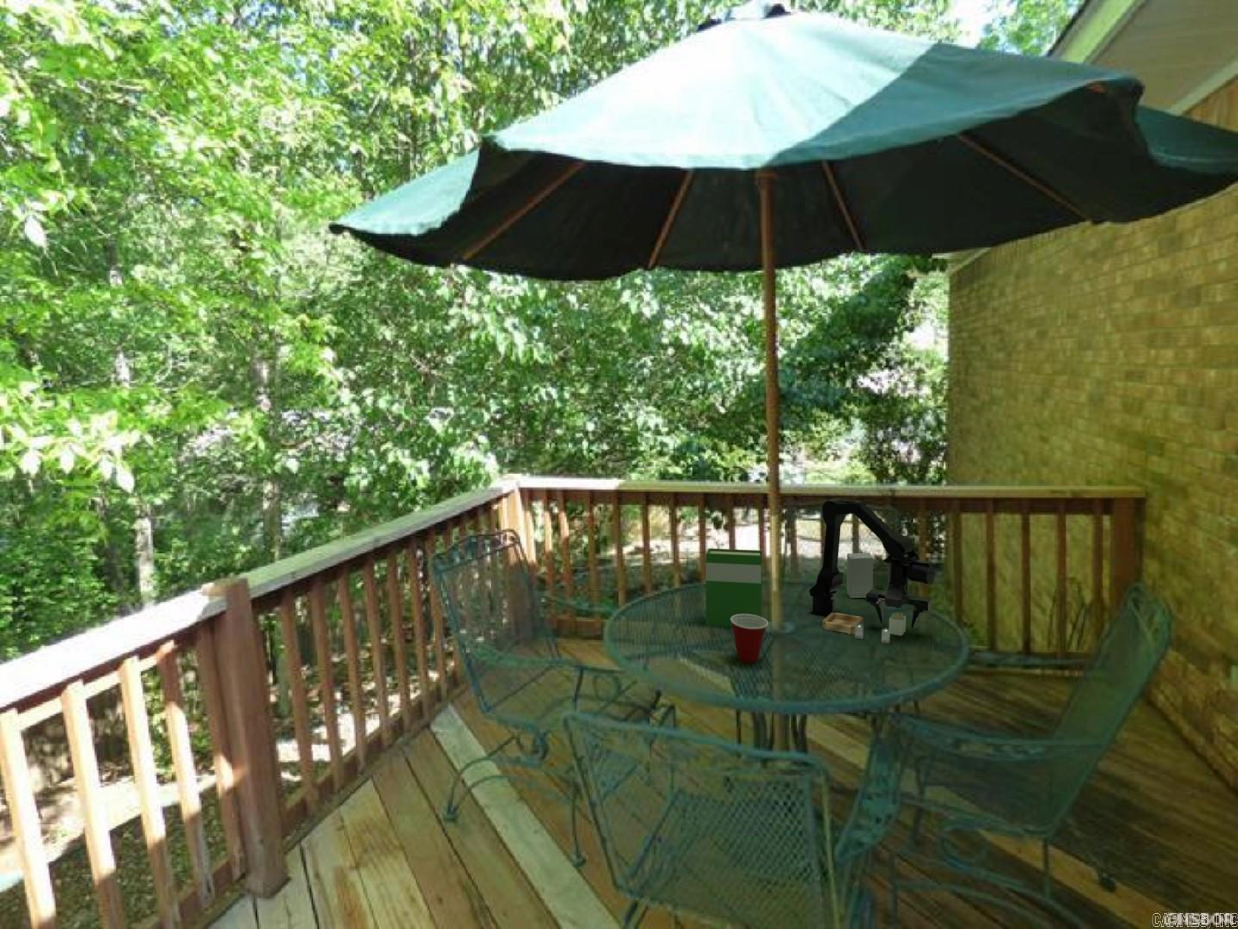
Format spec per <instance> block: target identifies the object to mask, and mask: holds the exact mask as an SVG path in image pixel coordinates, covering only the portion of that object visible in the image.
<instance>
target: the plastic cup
mask: <svg viewBox="0 0 1238 929" xmlns="http://www.w3.org/2000/svg"><path fill="white" fill-rule="evenodd" d="M730 619H731V622H732V626H733V627H732V631H733V636H734V637H733V638H734V644H735V648H736V654H737V659H738V660H739V661H740V662H742V663H748V664H750V663H756V662H758V660H759V658H760V652H761V649H762V643H763V638H764V635H765V634H764V633H765V631H766V628H767V627H768V624H769V622H768V620H767V619H766V618H764V617H762V616H761V617H760V616H757V615H751V614H737V615H734V616H732V617H731V618H730Z"/></svg>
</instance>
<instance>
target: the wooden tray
mask: <svg viewBox="0 0 1238 929" xmlns="http://www.w3.org/2000/svg"><path fill="white" fill-rule="evenodd" d="M856 624H862V625H863V626H864V617H862V616H859V615H853V614H847V613H846V614H845V613H839V612H833V613H831V614H830V615H829V616H826V617H825V618H824V619H823V620H822V624H821V625H822V626H821V628H822V627H825V628H826V629H829V630H834V631H839V632H846V633H848V634H847V635H850V634H851V635H854V636H855V625H856Z"/></svg>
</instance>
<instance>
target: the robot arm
mask: <svg viewBox="0 0 1238 929" xmlns="http://www.w3.org/2000/svg"><path fill="white" fill-rule="evenodd" d="M821 514H822V520H823V521H824V524H825V533H824V534H825V535H824V545H823V559H822V560H823V561H822V567H821V568H820V571H819V572H818V574H817V577H816V582H815V584H814V585H813V586H812V587H811V588H809V590H808V591H809V595H810V597H812V609H811V610H810V614H814V615H820V616H825V617H828V616H829V615H830V614H831V613H835V611H836V610H835V607H836V606H835V605H836V600H835V599H834V595H835V594H837V591H838V590H839V589H840V588H841V586H842V585H843V584H844V582H843V577H844V572H841V571H840V570H839V568H838V564H839V553H840V549H839V548H840V541H841V540H840V539H841V527H842V525H843V523H844V521H845V519H846V517H847V515H855V517H856V518H857V519H858V520H860V521H861V522H862V523H863V524H864V525H865V527H867V529H869V530H870V531H871V532H872V533H873V534H874V535H875V536H876V537H877V538H878V539H879V540H880V541H881V545H882V547H883V549H884V550H885V551H886V552H887V554H888V556H887V557H886V558H885V559H883V561H882V562H883V563H885V564H889V576H888V579H889V580H888V581H889V582H888V586H887V589H886V592H885V594H883V590H878V589H873V590H870V591H869V592H868V593H867V594H866V599H865V602H866V603H869V604H870V606H872V607H874V608H875V610H876V613H877V615H878V616H877V617H878V618H879V622H880V624H881V625H883V624H884V618H885V615H884V613H885V612H884V611H885V610H884V605H885V606H886V607H888V608H889V607H891V608H896V609H900V608H902V607H903V605H911V606H914V609H912V610H913V611H912V619H911V624H910V625H911V629H912V630H914V627H915V625H916V623H917V620H918V618H919V616H920V614H921V613H924V612H926V611H927V612H928V611H929V610H930V608H931V607H932V599H931V598H930V597H926V596H920V595H917V597H916V598H911V597H910V596H911V595H910V593H909V582H913V583H918V584H923V585H928V586H931V585H933V583H934V580H935V577H936V571H935V567H934V566H933V562H932V561H922V560H920V556H918V554H917V552H916V551H915V549H914V547H913V546H914V545H913V543H912V541H911V540H910V539H909V538H907V537H906V536H904V535H903V534H902V533H899V532H897V531H895V530H893V529H892V528H890V527H889V526H888V525H887V524H886V523H885V522H884V521H883V520H882V519H881V518H880V517H879V516H878V515H877V514H876V513H875V512H874V511H873V510H872V509H871V508H870V507H869V506H867V504H866V502H865V501H863V500H844V499H843V498H834V499H830V500H826V501H825V502H823V503H822V505H821ZM907 556H908V557H907ZM909 580H910V581H909Z"/></svg>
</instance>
